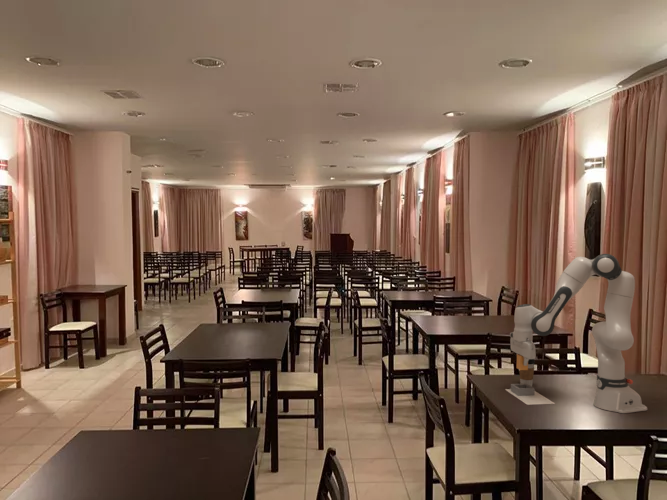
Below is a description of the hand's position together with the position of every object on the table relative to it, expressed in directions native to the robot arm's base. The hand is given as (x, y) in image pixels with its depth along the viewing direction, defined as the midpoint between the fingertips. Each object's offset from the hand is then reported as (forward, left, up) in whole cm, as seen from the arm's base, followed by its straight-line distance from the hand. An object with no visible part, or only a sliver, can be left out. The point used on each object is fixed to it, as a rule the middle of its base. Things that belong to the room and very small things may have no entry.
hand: (522, 363), depth 263 cm
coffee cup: (-10, -16, -16) cm, 25 cm away
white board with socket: (-1, +5, -16) cm, 17 cm away
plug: (0, 0, -3) cm, 3 cm away
